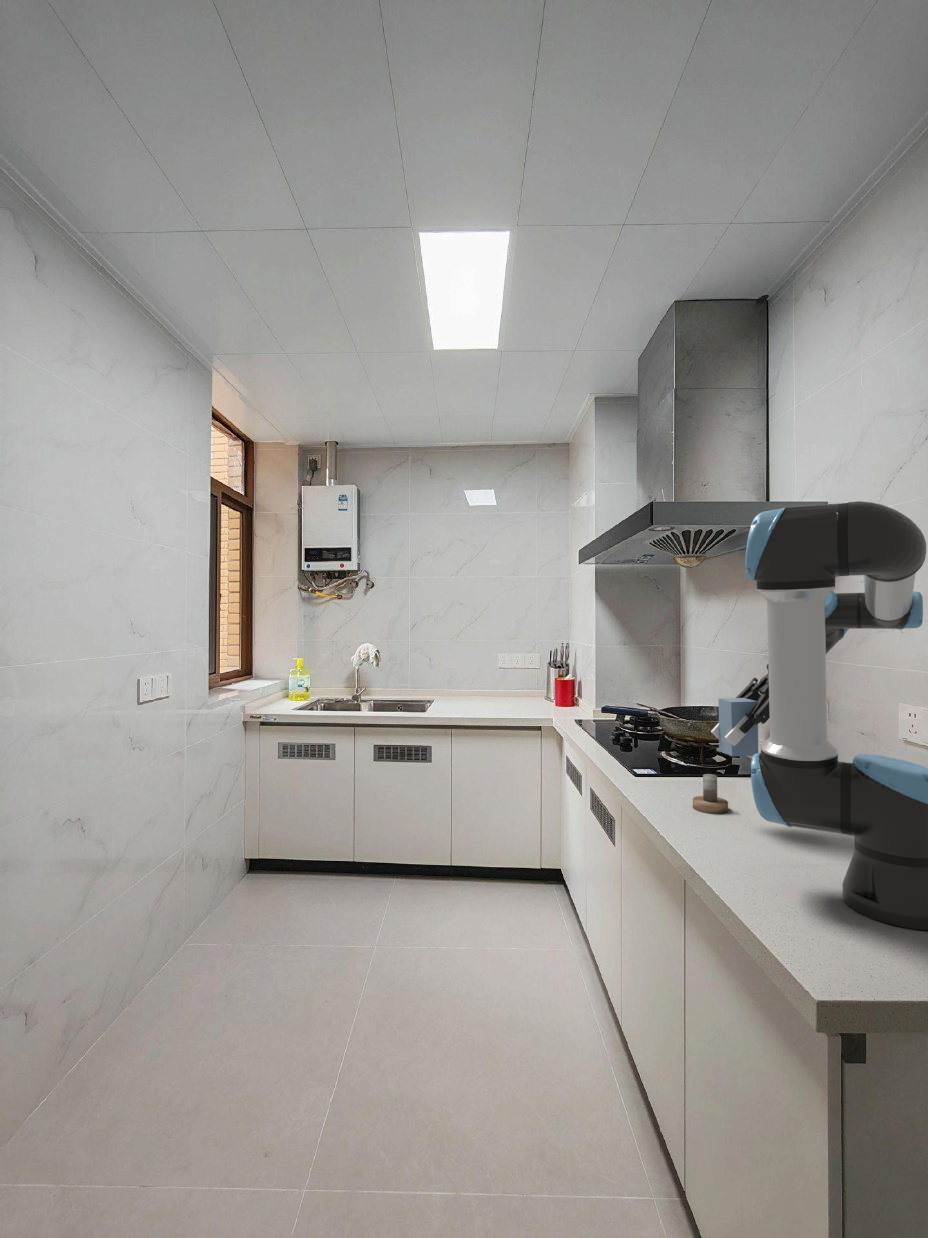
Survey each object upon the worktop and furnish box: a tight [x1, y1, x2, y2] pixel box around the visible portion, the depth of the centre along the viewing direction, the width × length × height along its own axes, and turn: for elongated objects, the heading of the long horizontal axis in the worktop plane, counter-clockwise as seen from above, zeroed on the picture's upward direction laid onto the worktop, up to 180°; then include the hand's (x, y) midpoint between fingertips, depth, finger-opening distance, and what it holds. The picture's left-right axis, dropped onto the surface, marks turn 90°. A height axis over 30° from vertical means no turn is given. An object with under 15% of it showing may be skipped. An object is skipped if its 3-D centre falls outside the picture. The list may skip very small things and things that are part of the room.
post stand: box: [692, 773, 729, 815], centre depth 151 cm, size 8×8×8 cm
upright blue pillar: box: [718, 697, 759, 757], centre depth 140 cm, size 6×6×12 cm
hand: (722, 738), depth 140 cm, fingers closed on upright blue pillar, 6 cm apart
